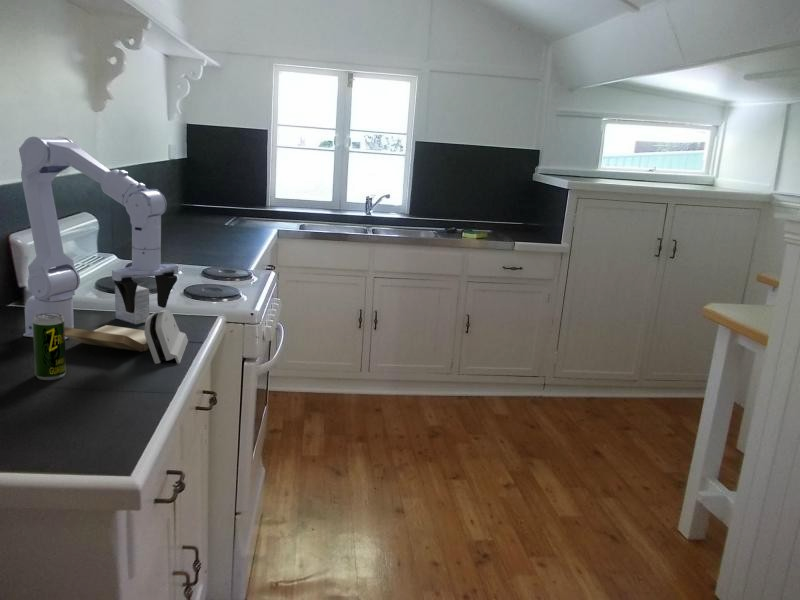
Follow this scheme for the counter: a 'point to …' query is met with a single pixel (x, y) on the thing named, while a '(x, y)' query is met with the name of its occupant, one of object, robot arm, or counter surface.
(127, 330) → the floor board
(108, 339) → the plank
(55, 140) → the robot arm
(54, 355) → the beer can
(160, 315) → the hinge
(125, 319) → the grey wood grain block
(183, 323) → the counter surface
